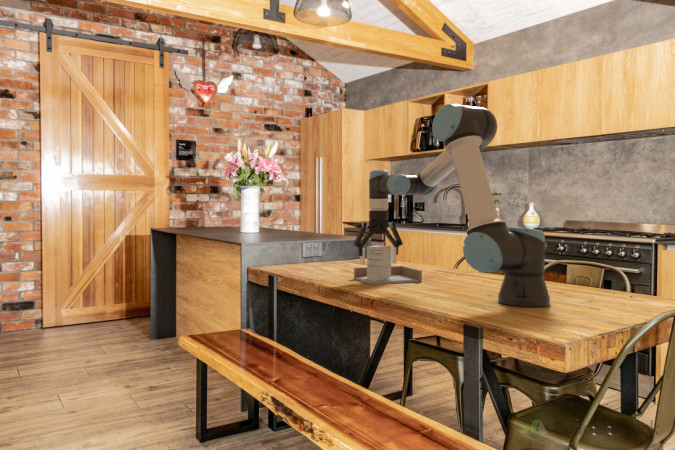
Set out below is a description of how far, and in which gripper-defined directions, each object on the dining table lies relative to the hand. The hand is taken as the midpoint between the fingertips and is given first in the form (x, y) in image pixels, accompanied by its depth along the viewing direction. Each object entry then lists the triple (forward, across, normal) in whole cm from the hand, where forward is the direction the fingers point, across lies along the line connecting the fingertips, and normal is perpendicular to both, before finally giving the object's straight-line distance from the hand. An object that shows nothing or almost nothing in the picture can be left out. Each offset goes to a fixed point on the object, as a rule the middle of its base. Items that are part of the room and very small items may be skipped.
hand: (378, 264), depth 210 cm
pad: (+7, 0, 0) cm, 7 cm away
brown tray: (+7, -4, 0) cm, 8 cm away
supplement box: (+6, 0, 0) cm, 6 cm away
